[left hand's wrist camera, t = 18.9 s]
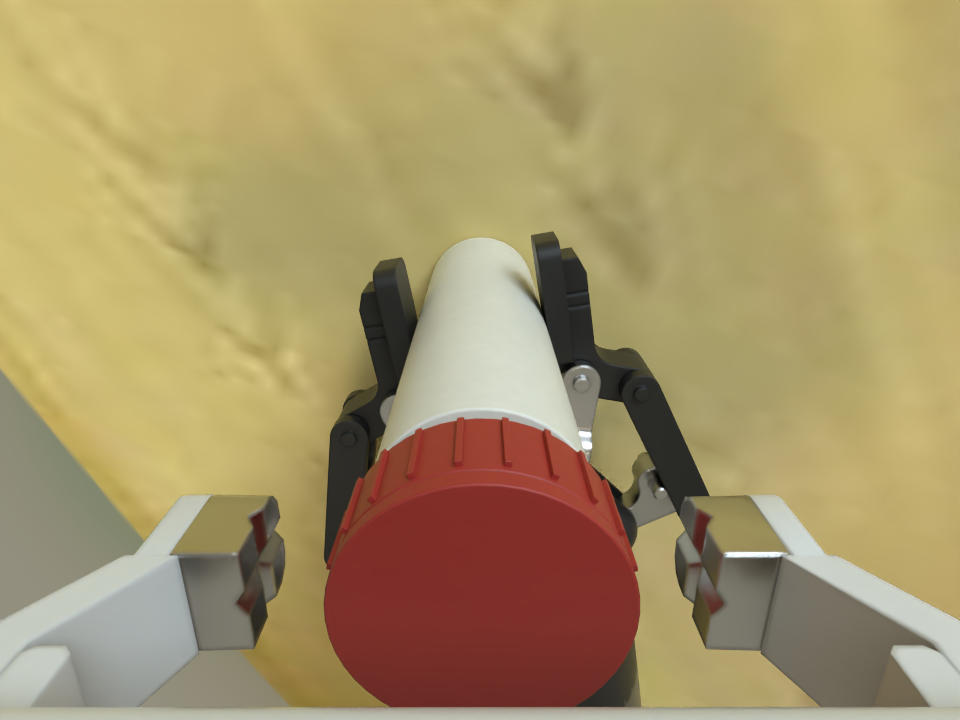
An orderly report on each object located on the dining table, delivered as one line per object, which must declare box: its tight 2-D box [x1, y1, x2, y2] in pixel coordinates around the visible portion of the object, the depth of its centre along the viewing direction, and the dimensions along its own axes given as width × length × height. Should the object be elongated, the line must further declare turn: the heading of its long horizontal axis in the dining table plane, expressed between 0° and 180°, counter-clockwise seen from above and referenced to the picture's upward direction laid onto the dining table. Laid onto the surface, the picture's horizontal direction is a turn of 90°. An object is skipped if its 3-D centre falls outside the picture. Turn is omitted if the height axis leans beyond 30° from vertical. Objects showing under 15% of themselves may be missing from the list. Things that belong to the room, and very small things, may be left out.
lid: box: [324, 417, 640, 707], centre depth 10 cm, size 5×5×2 cm
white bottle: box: [375, 237, 588, 463], centre depth 17 cm, size 4×4×17 cm
